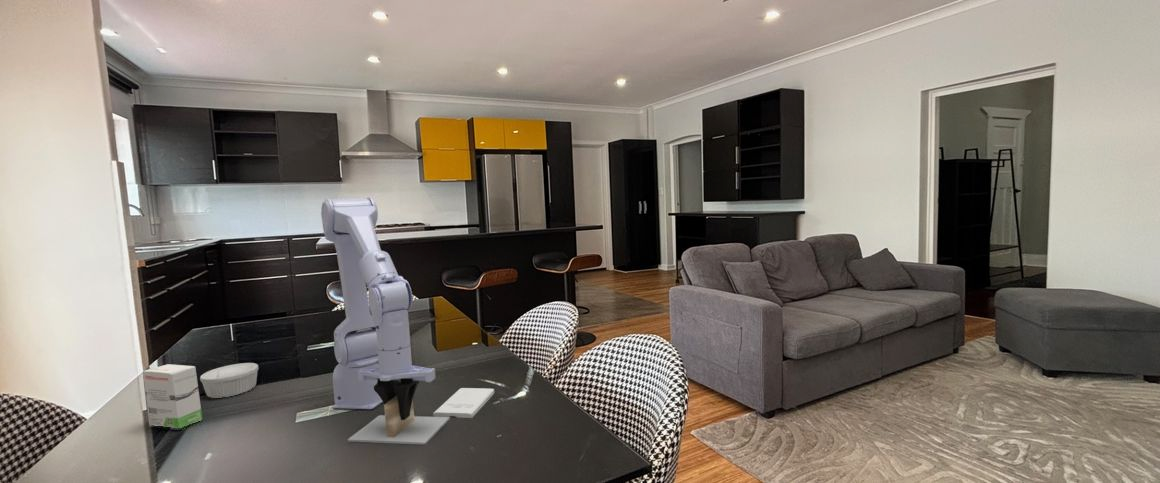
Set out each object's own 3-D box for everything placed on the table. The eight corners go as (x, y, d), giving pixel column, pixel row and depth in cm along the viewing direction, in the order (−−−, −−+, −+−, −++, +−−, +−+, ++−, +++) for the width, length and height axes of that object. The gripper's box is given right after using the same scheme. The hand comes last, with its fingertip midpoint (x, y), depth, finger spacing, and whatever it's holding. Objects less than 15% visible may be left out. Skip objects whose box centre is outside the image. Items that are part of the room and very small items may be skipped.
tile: (386, 436, 88) (383, 404, 88) (406, 419, 95) (404, 389, 95) (394, 437, 88) (392, 404, 87) (414, 419, 95) (412, 389, 94)
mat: (347, 441, 88) (347, 439, 88) (379, 417, 98) (379, 415, 98) (425, 444, 85) (424, 442, 85) (449, 419, 95) (449, 417, 95)
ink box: (203, 421, 100) (197, 365, 99) (177, 432, 95) (170, 373, 94) (174, 417, 103) (168, 362, 102) (147, 428, 98) (140, 370, 97)
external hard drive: (494, 395, 107) (472, 420, 95) (460, 394, 109) (433, 419, 97) (494, 388, 107) (471, 412, 95) (459, 387, 109) (432, 411, 97)
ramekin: (191, 398, 113) (188, 376, 113) (240, 381, 124) (238, 360, 123) (222, 403, 109) (220, 380, 109) (270, 385, 119) (268, 364, 119)
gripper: (344, 353, 88) (351, 426, 89) (419, 353, 85) (425, 428, 86) (368, 341, 94) (374, 409, 96) (438, 341, 92) (443, 411, 93)
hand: (399, 417), depth 91 cm, fingers closed on tile, 2 cm apart
